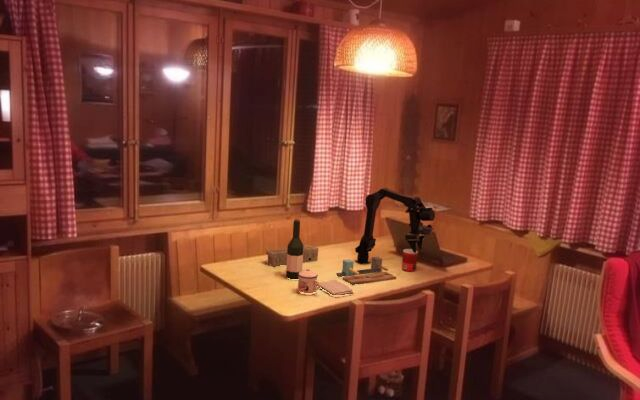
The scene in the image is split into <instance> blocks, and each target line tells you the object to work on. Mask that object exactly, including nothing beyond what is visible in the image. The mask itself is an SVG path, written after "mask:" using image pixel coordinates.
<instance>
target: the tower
mask: <svg viewBox="0 0 640 400" xmlns="http://www.w3.org/2000/svg"><path fill="white" fill-rule="evenodd" d="M287 248H288V247H281V248H273V249H265V255H267V264H268V263H269V264H268V265H270V264H271V265H272V267H273V266H278V267H281V266H280V265H285V266H287ZM318 255H319V248H318V247H317V246H314V245H312V246H311V245H309V244H308V245H307V244H306V245H304V247H303V264H304V263H305V262H306V263H309V262H310V263H313V262H318V259H319V256H318ZM271 265H270V266H271Z"/></svg>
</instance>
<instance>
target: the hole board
mask: <svg viewBox="0 0 640 400" xmlns="http://www.w3.org/2000/svg"><path fill="white" fill-rule="evenodd" d="M344 280H345V281H344ZM392 280H397V276H395V275H393V274H391V273H390V272H388V271H382V272H375V273H368V274H360V275H353V276H344V277H342V281H344V282H346V283H347V282H348V284H349V283H350V285H351V284H352V285H351V286H356V285H355V284H358V285H363V284H364V283H365V284H371V283H378V282H379V283H380V282H387V281H392Z"/></svg>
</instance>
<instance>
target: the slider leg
mask: <svg viewBox="0 0 640 400" xmlns="http://www.w3.org/2000/svg"><path fill="white" fill-rule="evenodd" d="M354 263H355V260H352V259H350V258H349V259H343V260H342V268H341V272H345V273H346V276H345V277H349V276H354V275H353V273H355V274H357V275H359V272H357V270H356V269H354ZM357 275H356V276H357Z"/></svg>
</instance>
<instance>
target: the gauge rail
mask: <svg viewBox="0 0 640 400" xmlns="http://www.w3.org/2000/svg"><path fill="white" fill-rule="evenodd" d="M382 270H383V271H384V272H388V271H389V268H387V267H385V266H383V258H381V257H379V256H373V257H371V262H370V268H367V269H358V270H356V271H357V272H359V275H364V274H372V273H380V272H383V271H382ZM335 274H336V275H337V276H338V277H337V276H336V275H335V276H336V277H337V278H343V277H342V276H344V277H347V276H346V273H345V272H342V271H341V272H336V273H335ZM353 276H357V274H355V273H353Z"/></svg>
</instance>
